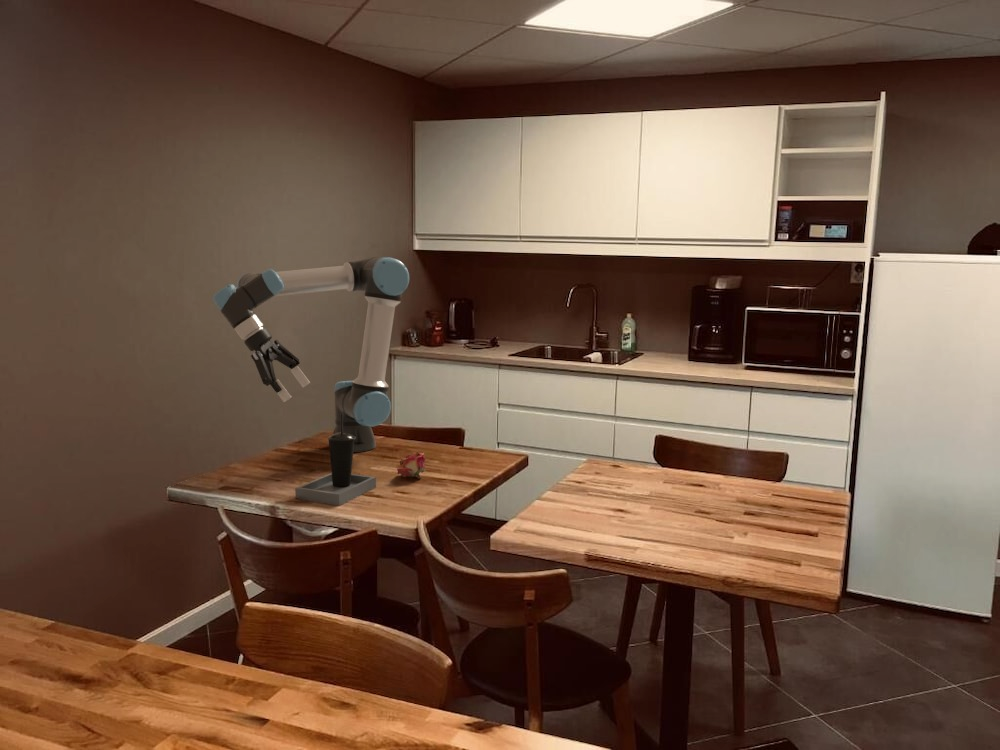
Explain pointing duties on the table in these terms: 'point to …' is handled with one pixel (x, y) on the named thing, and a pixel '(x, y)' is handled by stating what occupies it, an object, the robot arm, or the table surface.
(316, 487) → the tray
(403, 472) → the flower
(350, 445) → the drinking cup
